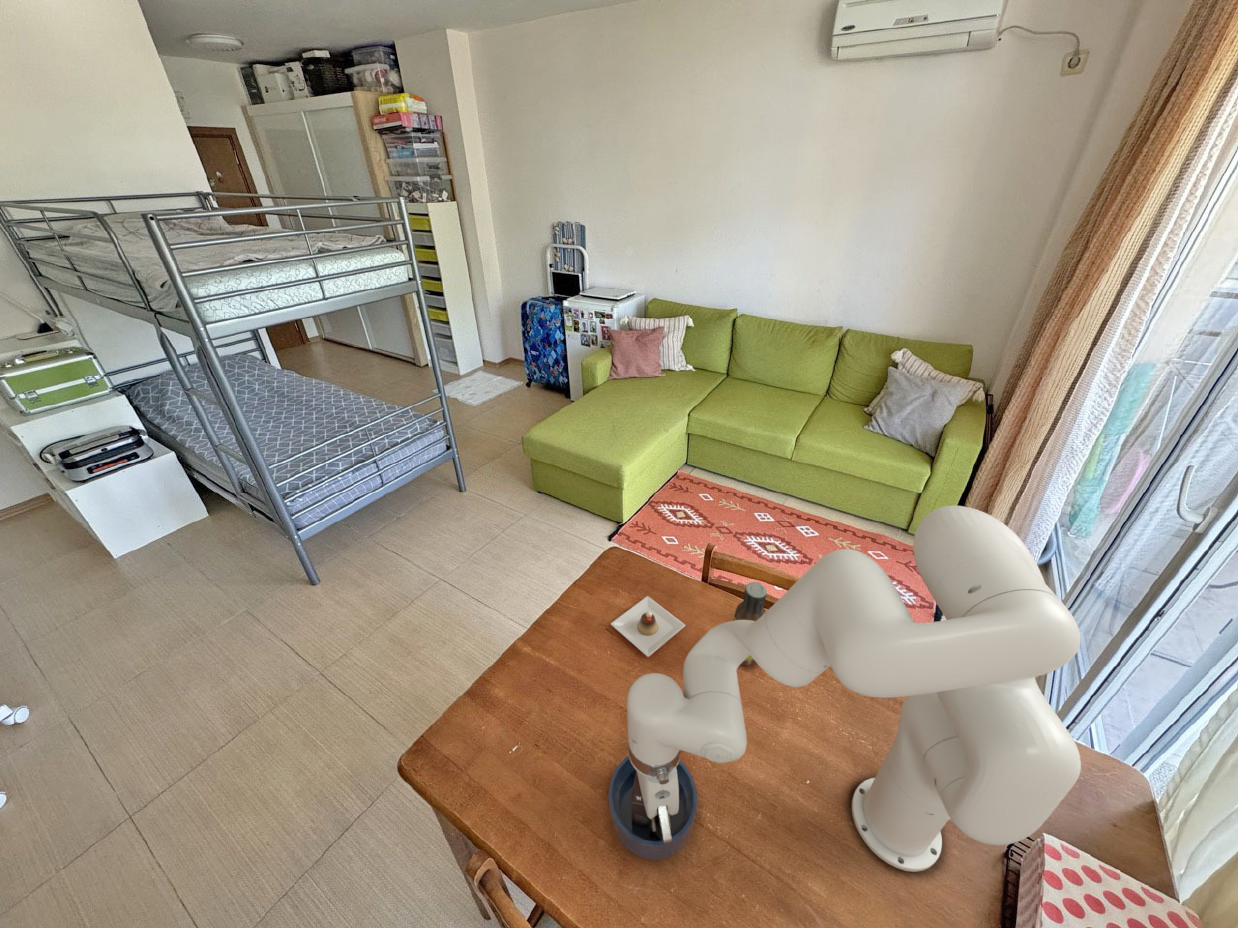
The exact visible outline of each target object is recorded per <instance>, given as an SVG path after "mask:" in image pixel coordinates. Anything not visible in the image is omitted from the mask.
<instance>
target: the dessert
mask: <svg viewBox="0 0 1238 928" xmlns="http://www.w3.org/2000/svg"><path fill="white" fill-rule="evenodd" d="M610 625H611V627H613V628H614V629H615V630H616V631H618V633H620V634H621V635H622V636H623V637H625V639H627V640H628V641H629V642H630V643H631V644H632V645H634V646H635V647H636V648H637V649H638V650H639V651H640V652H641V653H642V654H643V655H645V656H646V657H647V658H649V657H651V656H652V654H654V653H655V652H656V651H658V649H660V648H661V647H662V646H664V645H665V644H666V643H667V642H668V641H669V640H671V639H672V638H673V637H674V636H675V635H677V634H678V633H679V632H680V631H681V630H683V628H684V627H686V624H685V623H684V622H682V621H681V620H680V619H679V618H677V616H674V614H672V613H671V612H669V611H668V610H667V609H665V608H664V607H663V606H661V605H660V604H659V603H657V602H656V601H655V600H654V599H652V598H651V597H650V596H648V595H647V596H645V597H644V598H643V599H641V600H640V601H639V602H637V603H636V604H635V605H633V606H632V607H630V609H627V610H626V611H625V612H623V613H622V614H621V615H620V616H618V617H617V618H616V619H615V620H613V621H612V622H610Z"/></svg>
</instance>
